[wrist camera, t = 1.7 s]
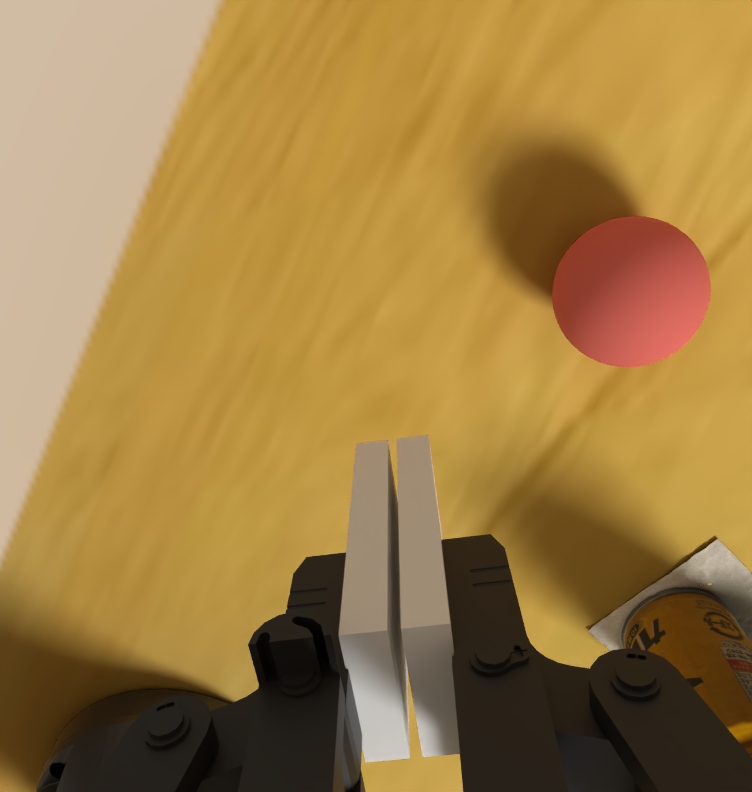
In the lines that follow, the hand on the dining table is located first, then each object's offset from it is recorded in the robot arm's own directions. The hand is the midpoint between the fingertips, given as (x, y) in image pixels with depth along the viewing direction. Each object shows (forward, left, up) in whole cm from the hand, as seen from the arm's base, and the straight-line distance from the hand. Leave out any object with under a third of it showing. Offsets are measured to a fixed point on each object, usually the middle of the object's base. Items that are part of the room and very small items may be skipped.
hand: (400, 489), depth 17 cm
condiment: (+13, -20, -17) cm, 29 cm away
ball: (+9, 0, -13) cm, 16 cm away
